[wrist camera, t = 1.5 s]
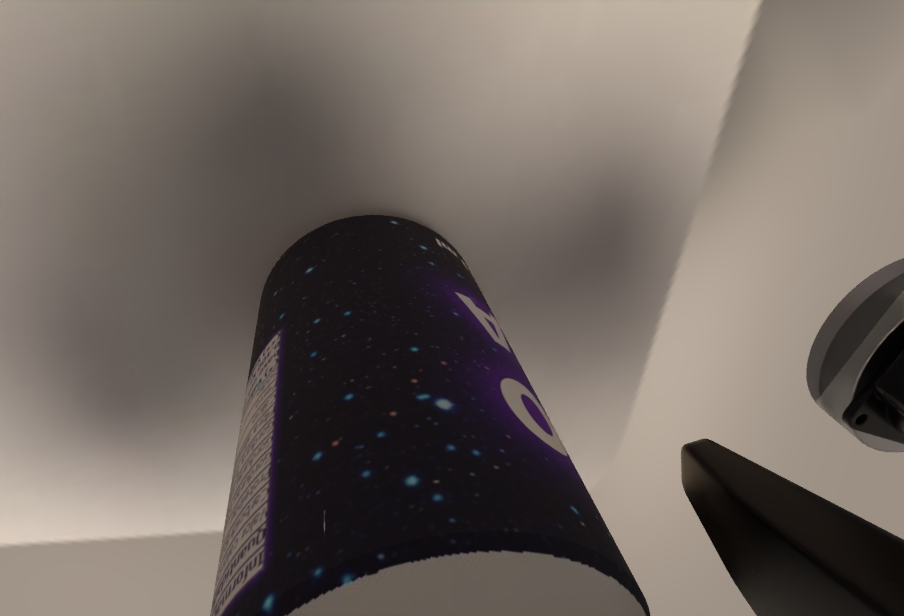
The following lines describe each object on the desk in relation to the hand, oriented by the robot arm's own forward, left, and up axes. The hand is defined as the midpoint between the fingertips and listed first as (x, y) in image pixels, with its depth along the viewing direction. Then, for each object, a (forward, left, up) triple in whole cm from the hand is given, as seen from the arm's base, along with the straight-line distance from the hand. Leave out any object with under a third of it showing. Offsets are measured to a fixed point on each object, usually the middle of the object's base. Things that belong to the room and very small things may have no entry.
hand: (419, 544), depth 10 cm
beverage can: (0, 0, -9) cm, 9 cm away
